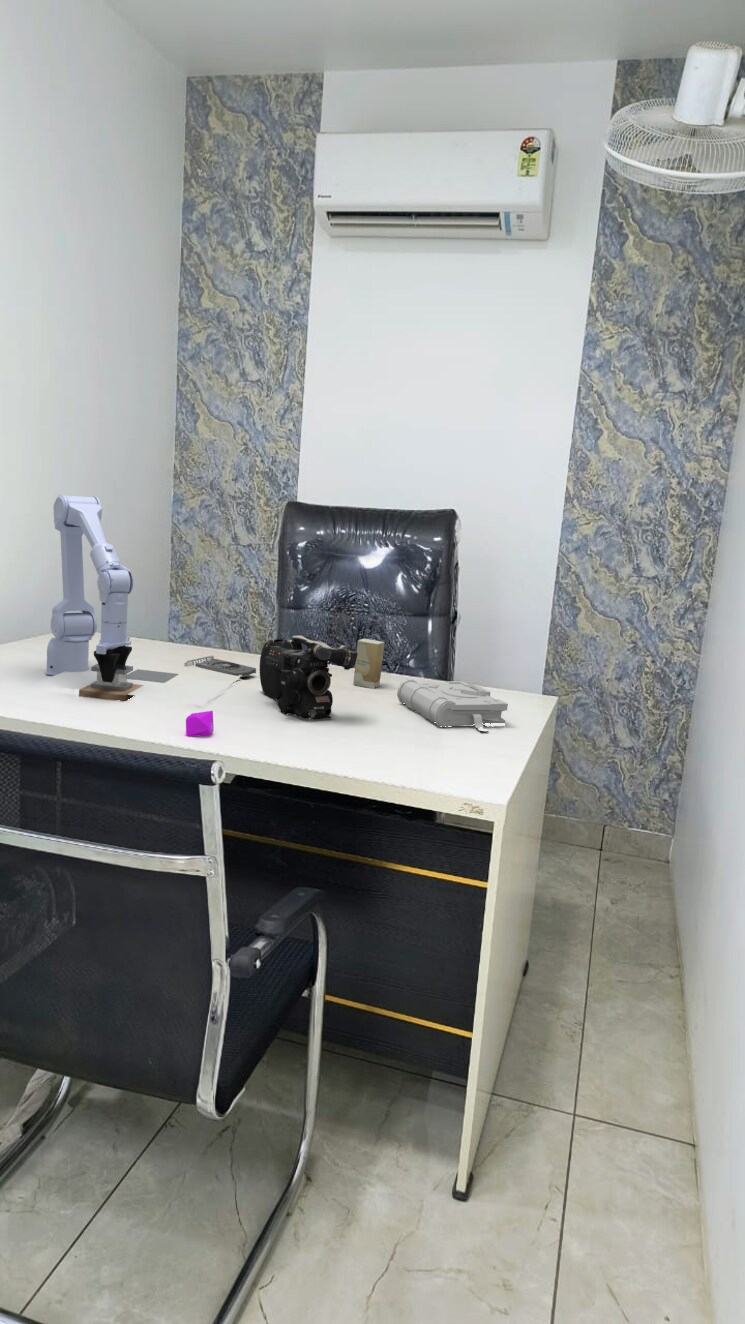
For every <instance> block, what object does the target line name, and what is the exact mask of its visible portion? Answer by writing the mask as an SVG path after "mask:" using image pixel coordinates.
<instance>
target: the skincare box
mask: <svg viewBox="0 0 745 1324" xmlns="http://www.w3.org/2000/svg"><path fill="white" fill-rule="evenodd" d="M356 647H357V648H356V652H357V653H358V655H357V659H356V664H355V666H354V672H353V683H352V685H353V686H358V687H363V688H364V687H365V688H368V687H369V689H373V688H374V689H376V688H378V687H380V683H381V676H382V668H383V658H384V650H385V642H384V641H380V640H376V639H368V638H361V639H358V640H357V646H356ZM375 687H376V688H375Z"/></svg>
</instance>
